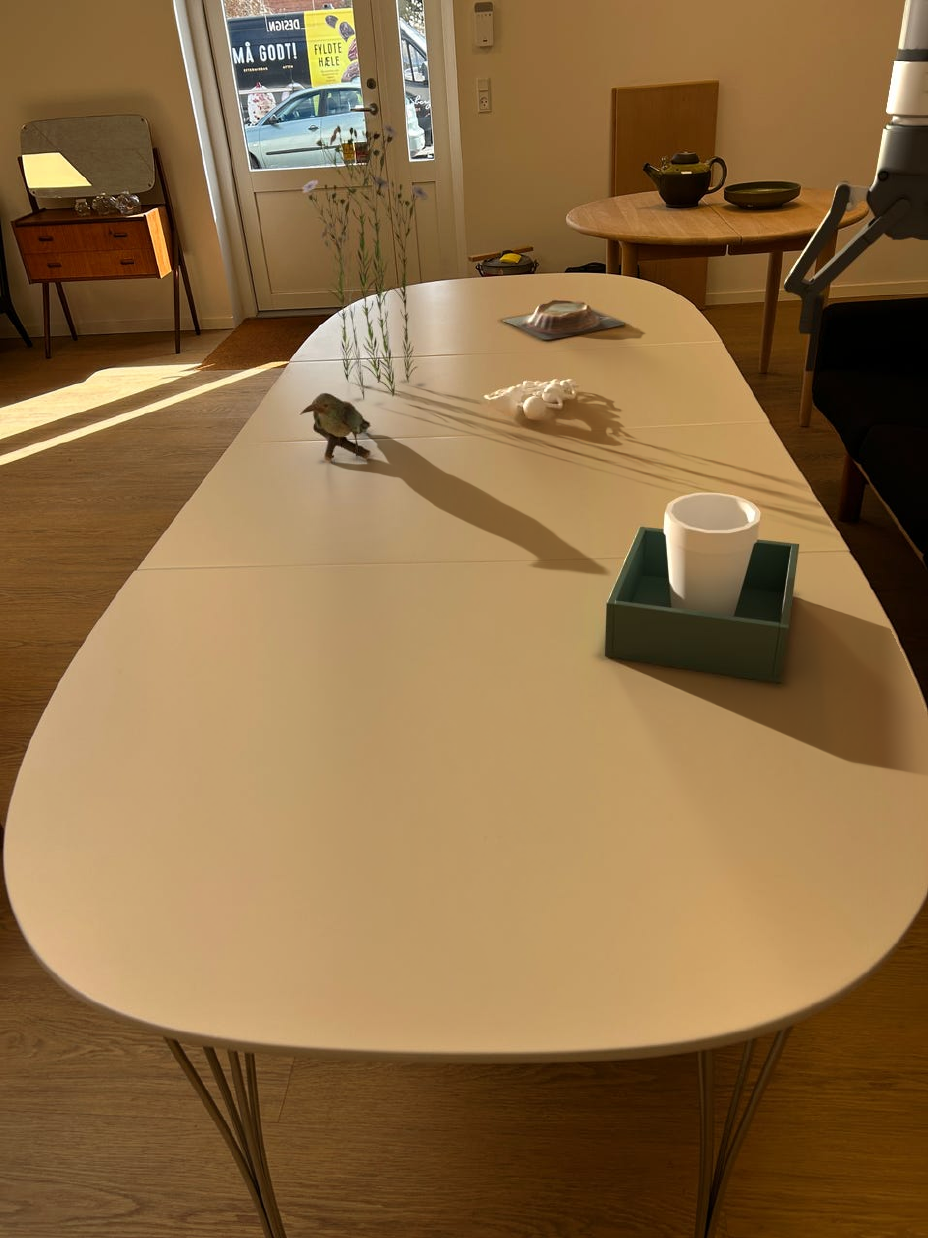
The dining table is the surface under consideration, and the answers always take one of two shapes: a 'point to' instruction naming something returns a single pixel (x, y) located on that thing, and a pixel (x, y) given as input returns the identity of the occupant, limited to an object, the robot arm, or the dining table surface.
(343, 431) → the bird figurine
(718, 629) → the dish tub
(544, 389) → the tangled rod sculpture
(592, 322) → the quiche
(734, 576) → the foam cup
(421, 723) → the dining table surface
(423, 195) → the wildflower
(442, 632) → the dining table surface
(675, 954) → the dining table surface
